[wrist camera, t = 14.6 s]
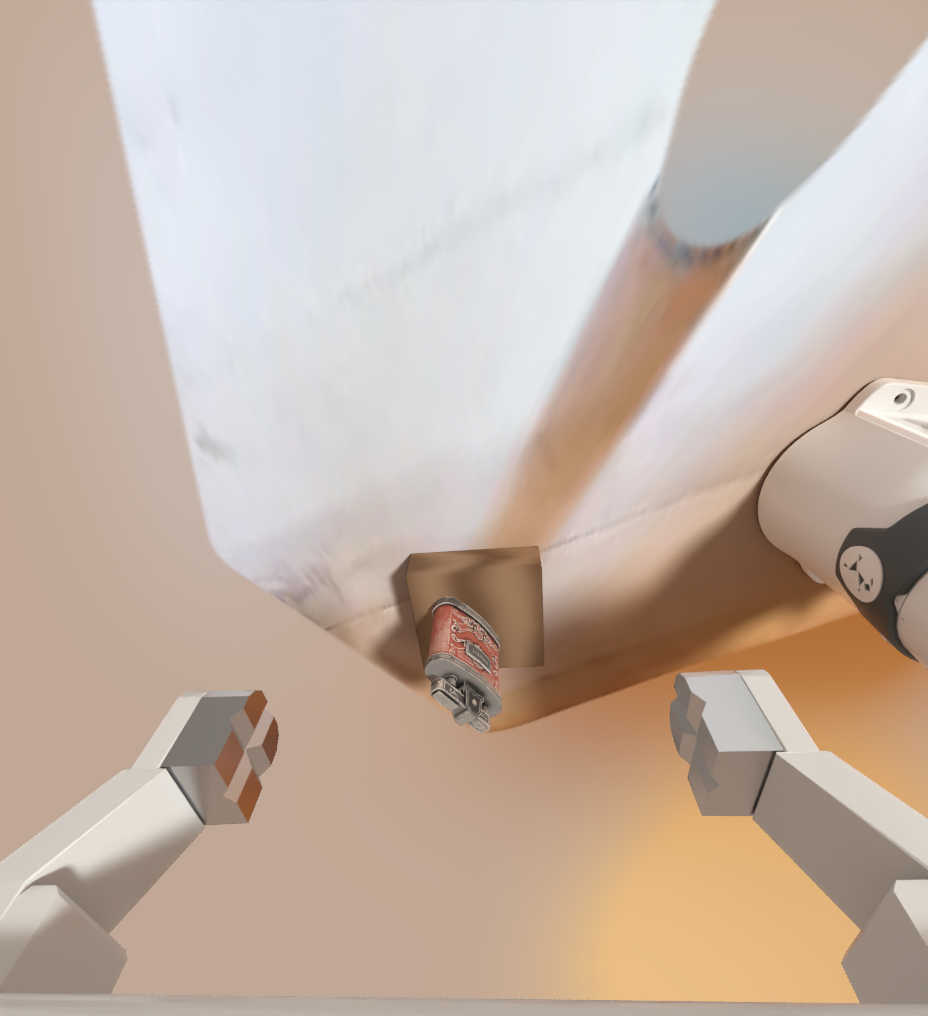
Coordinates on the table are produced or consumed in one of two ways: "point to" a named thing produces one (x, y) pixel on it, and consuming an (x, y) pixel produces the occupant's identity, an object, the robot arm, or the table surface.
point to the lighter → (464, 664)
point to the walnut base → (484, 596)
